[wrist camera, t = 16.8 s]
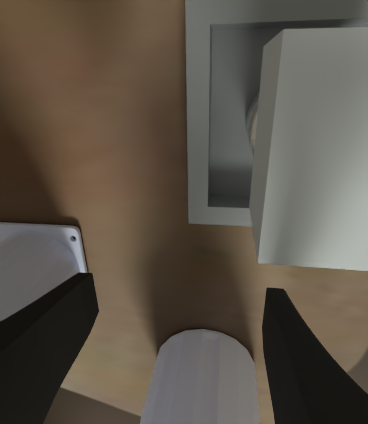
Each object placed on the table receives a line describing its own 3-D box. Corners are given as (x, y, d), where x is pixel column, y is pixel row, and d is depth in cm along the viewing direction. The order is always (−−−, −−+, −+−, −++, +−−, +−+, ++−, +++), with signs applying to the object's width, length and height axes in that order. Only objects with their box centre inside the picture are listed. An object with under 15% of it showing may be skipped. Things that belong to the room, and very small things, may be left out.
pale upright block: (356, 212, 14) (414, 273, 10) (249, 206, 15) (257, 263, 10) (397, 44, 12) (506, 23, 7) (263, 46, 12) (283, 28, 8)
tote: (371, 211, 20) (392, 232, 18) (193, 205, 22) (188, 223, 19) (426, -4, 15) (467, -20, 13) (192, 8, 17) (185, -4, 14)
